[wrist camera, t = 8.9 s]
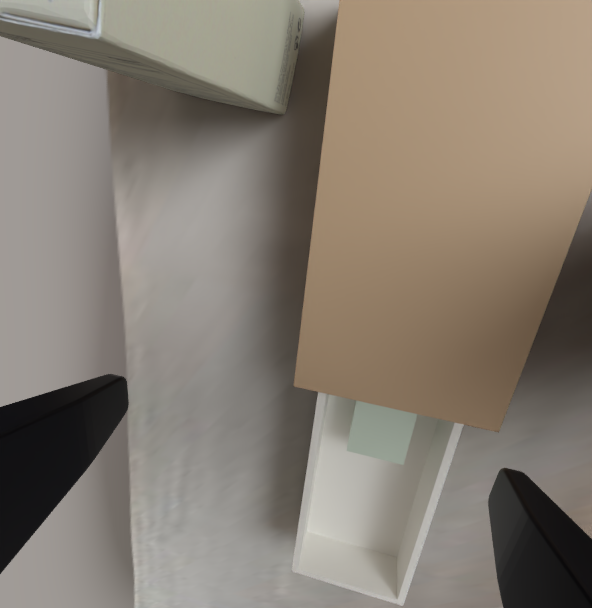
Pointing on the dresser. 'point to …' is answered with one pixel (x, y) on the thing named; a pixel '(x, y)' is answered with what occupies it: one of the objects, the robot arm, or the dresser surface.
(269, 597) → the dresser surface
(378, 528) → the tray
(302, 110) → the dresser surface
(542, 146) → the sleeve
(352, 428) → the soap bar
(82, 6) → the skincare box
